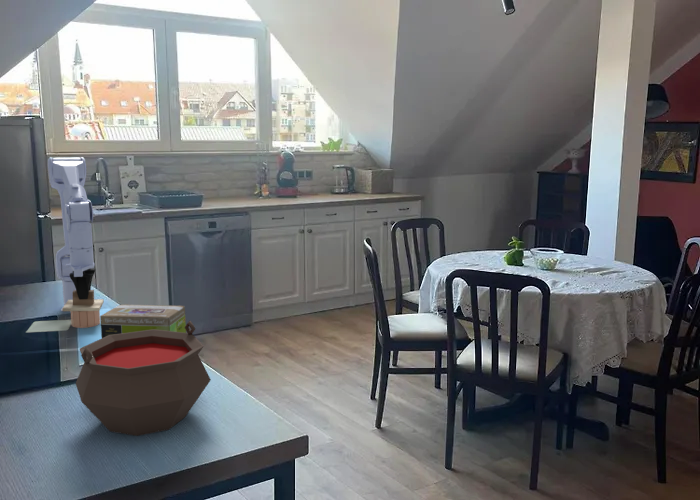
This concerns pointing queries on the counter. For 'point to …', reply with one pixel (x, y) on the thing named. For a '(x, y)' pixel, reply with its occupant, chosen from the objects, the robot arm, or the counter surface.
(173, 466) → the counter surface
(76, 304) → the lid
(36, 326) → the mat
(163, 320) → the tea box
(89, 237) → the robot arm
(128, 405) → the brown cauldron
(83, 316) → the cup
